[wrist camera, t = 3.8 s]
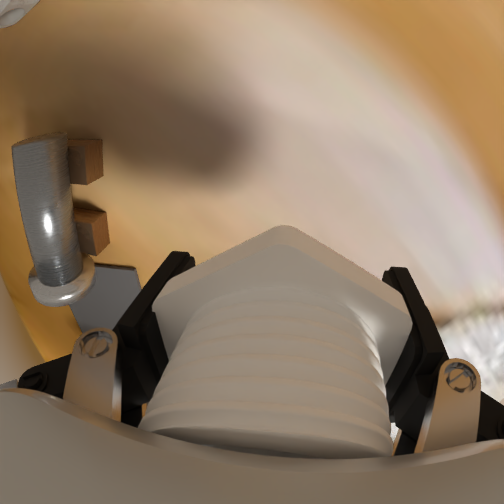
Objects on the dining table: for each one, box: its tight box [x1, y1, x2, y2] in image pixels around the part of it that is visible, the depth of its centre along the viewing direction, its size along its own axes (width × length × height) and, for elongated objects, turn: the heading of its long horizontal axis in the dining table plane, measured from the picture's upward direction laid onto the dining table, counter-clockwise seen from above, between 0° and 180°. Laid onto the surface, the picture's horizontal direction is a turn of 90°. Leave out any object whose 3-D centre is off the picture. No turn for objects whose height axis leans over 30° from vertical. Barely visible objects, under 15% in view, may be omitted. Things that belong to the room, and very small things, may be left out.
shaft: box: [11, 133, 110, 307], centre depth 15 cm, size 10×5×6 cm, turn 173°
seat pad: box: [69, 264, 141, 333], centre depth 23 cm, size 9×9×1 cm
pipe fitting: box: [138, 225, 413, 459], centre depth 8 cm, size 6×7×8 cm
